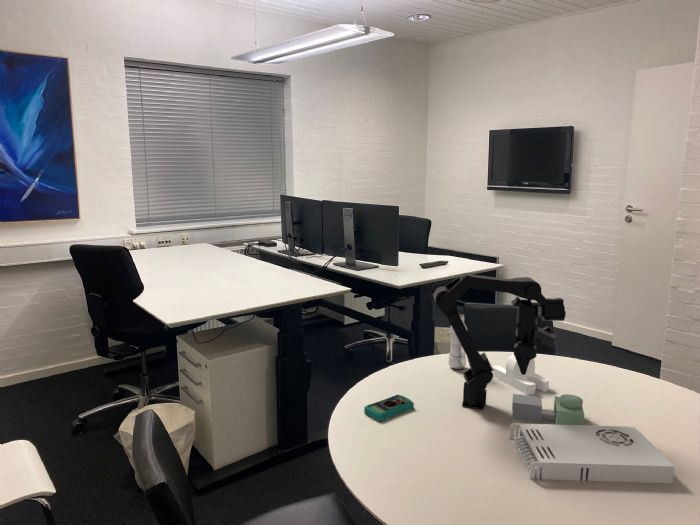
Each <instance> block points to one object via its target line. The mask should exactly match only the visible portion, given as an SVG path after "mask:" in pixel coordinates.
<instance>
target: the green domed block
mask: <svg viewBox="0 0 700 525" xmlns="http://www.w3.org/2000/svg"><path fill="white" fill-rule="evenodd" d="M583 404H584V400H583V399H582V397H581V396H577V395H574V394H569V393H568V394H566V393H565V394H562V395H560V396H554V403H553V409H546V408H542V416H541V421H546V422H554V424H555V425H584V424H585V411H584V409H583Z"/></svg>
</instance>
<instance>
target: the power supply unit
mask: <svg viewBox="0 0 700 525" xmlns="http://www.w3.org/2000/svg"><path fill="white" fill-rule="evenodd" d="M514 434H515V435H514ZM514 436H515V437H514ZM508 437H509V440H511V441H512V443H513V445H514V448H515V449H516V451H517V454H518V456H519V458H520V459H521V461H522V463H523V465H524V467H525V469H526V471H527V473H528V475H529V479H530V480H535V479H536V480H540V479H541V480H549V481H550V480H551V481H552V480H553V481H554V480H556V481H576V482H577V481H580V482H581V481H584V482H585V481H586V480H587V481H588V482H611V483H612V482H614V483H618V482H620V483H642V484H643V483H645V484H646V483H648V484H673V481H674V475H675V467H676V466H675V465H674V464H673V463H672V461H671V460H670V459H668V458H667V457H666V456H665V455H664V454H663V453H662V452H661V451H660V450H659V449H658V448H657V447H656V446H655V445H654V444H653V443H652V442H651V441H650V440H649V439H648V438H647V437H646V436H645V435H644V434H643V433H642V432H640V430H639V429H638V428H637V427H635V426H621V425H620V426H619V425H617V426H616V425H587V424H585V425H556V424H551V423H550V424H545V423H542V424H541V423H513V422H511V424H510V426H509V436H508Z"/></svg>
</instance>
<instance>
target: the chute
mask: <svg viewBox="0 0 700 525" xmlns="http://www.w3.org/2000/svg"><path fill="white" fill-rule="evenodd" d="M542 402H543V401H542V397H540V396H533V395H527V394H518V393H512V402H511V403H512V405H511V410H512V412H511V413H512V414H511V419H514V420H520V421H521V420H522V421H528V422H537V423H541V422H542V420H541V416H542V409H543V403H542Z"/></svg>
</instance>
